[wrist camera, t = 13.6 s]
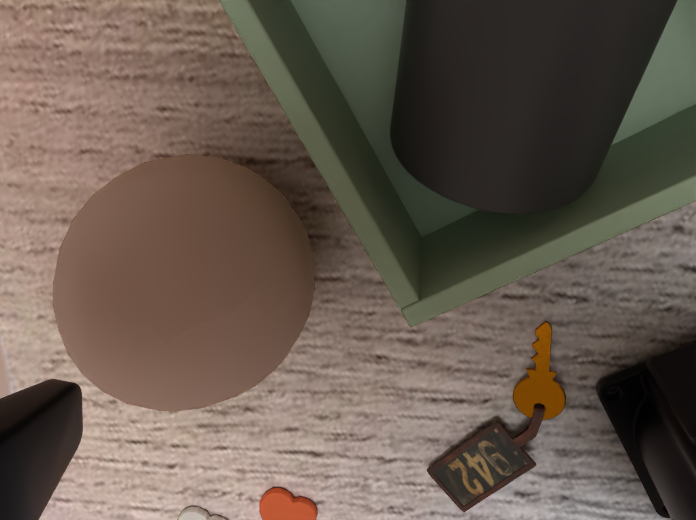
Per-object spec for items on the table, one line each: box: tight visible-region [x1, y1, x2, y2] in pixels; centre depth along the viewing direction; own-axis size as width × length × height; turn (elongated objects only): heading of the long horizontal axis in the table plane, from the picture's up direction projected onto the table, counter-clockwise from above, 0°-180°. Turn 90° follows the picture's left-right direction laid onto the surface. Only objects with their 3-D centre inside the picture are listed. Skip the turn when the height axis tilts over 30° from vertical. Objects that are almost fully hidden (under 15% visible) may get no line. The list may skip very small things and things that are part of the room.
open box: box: [219, 0, 696, 327], centre depth 16 cm, size 11×11×6 cm
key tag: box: [427, 321, 566, 512], centre depth 23 cm, size 8×3×1 cm, turn 151°
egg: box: [53, 154, 315, 411], centre depth 18 cm, size 7×7×8 cm
